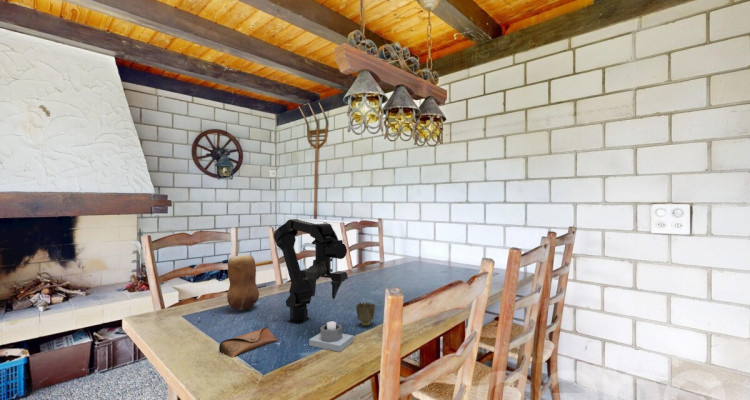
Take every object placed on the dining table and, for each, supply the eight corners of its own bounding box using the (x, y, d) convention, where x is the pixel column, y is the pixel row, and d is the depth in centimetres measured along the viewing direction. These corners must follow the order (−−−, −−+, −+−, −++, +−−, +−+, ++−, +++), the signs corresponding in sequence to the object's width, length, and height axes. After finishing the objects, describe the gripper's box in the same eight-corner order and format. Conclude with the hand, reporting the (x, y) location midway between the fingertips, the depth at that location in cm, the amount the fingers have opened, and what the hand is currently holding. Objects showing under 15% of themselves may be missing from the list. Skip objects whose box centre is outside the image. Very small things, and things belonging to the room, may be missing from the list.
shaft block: (309, 345, 112) (309, 324, 112) (324, 335, 120) (324, 316, 120) (339, 352, 106) (339, 330, 107) (353, 341, 115) (353, 321, 115)
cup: (373, 329, 126) (372, 308, 126) (354, 328, 127) (354, 307, 127) (376, 322, 133) (376, 302, 133) (359, 321, 134) (358, 301, 134)
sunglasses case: (232, 358, 102) (226, 337, 105) (222, 364, 106) (217, 344, 108) (281, 339, 116) (275, 321, 119) (271, 345, 120) (265, 327, 122)
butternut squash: (237, 304, 159) (237, 252, 159) (264, 305, 157) (263, 252, 157) (220, 314, 145) (220, 257, 145) (249, 315, 143) (248, 257, 143)
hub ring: (316, 339, 111) (316, 329, 111) (328, 332, 118) (328, 322, 118) (334, 343, 108) (334, 332, 108) (345, 335, 115) (345, 325, 115)
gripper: (289, 258, 123) (290, 300, 123) (332, 261, 115) (332, 306, 115) (307, 254, 133) (308, 292, 133) (348, 256, 126) (348, 298, 125)
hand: (323, 297), depth 127 cm, fingers open, 9 cm apart
